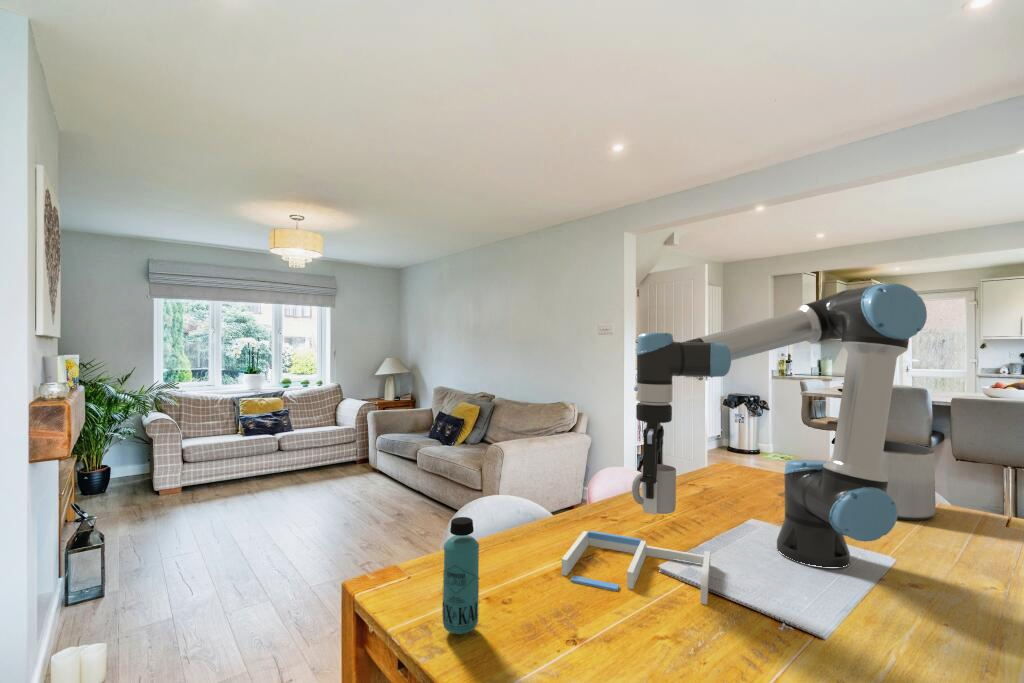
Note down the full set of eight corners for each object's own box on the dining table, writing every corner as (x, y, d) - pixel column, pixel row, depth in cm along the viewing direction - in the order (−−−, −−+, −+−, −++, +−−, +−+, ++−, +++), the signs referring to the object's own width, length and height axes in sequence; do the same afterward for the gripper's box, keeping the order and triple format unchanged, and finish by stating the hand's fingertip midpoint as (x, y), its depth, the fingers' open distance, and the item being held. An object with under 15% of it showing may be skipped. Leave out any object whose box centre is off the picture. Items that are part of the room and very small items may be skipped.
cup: (682, 512, 104) (683, 471, 104) (640, 516, 101) (641, 473, 101) (663, 502, 111) (663, 463, 111) (623, 505, 108) (624, 465, 108)
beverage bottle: (443, 622, 89) (443, 513, 89) (479, 621, 90) (479, 512, 90) (440, 644, 82) (441, 526, 83) (480, 642, 83) (480, 525, 83)
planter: (928, 506, 155) (927, 443, 156) (943, 528, 136) (942, 456, 137) (842, 494, 168) (842, 436, 168) (845, 513, 149) (845, 447, 149)
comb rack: (710, 564, 113) (710, 549, 113) (706, 610, 93) (706, 592, 93) (584, 542, 125) (584, 529, 125) (558, 579, 106) (558, 563, 106)
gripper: (643, 397, 117) (642, 492, 117) (628, 406, 99) (627, 519, 98) (676, 399, 114) (674, 496, 114) (667, 409, 96) (665, 525, 96)
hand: (652, 506), depth 106 cm, fingers closed on cup, 8 cm apart
